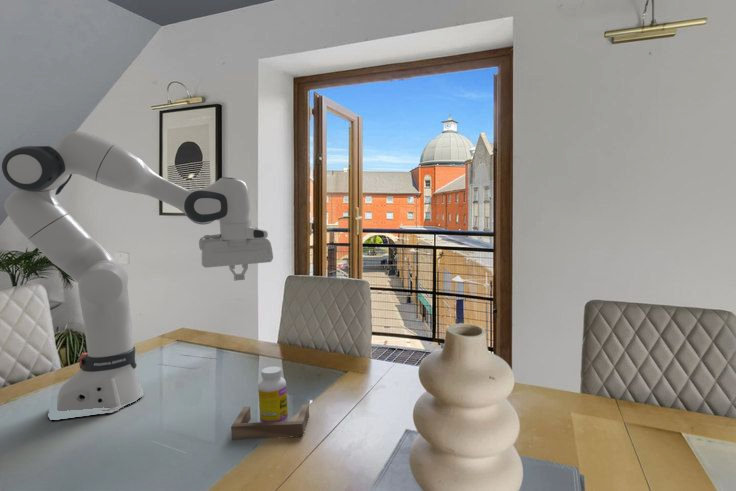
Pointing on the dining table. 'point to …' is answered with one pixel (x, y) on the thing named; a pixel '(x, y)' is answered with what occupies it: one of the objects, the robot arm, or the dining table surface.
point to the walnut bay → (268, 426)
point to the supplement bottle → (272, 396)
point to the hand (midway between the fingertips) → (239, 280)
